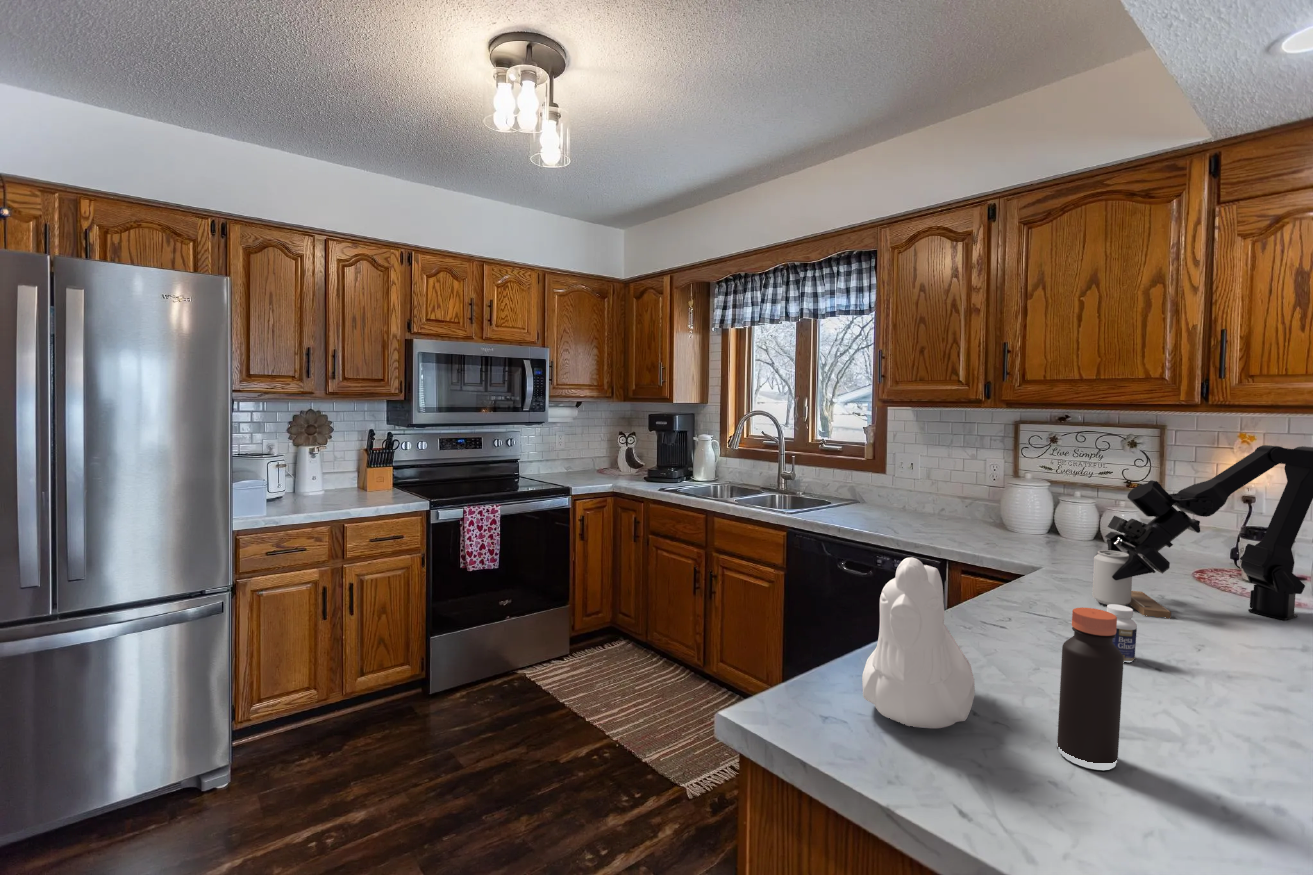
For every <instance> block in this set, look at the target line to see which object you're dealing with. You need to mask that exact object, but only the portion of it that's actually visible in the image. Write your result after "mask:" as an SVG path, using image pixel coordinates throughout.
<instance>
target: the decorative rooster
mask: <svg viewBox="0 0 1313 875" xmlns="http://www.w3.org/2000/svg"><path fill="white" fill-rule="evenodd" d="M943 588H944V587H943V581H942V577H941V574H940V571H939V569H938V568H936V567H933V566H931V565H927V564H923V562H922V561H921V560H919V559H918V558H916V557H913V556H912V557H906V558H904V559H903V560H902V561H900V563H899V564H898V566H897V568H896V571H895V577H894V578H892V579H890V580H889V581H888V582H887V583H885V585H884V586H883V588H882V590H881V594H880V597H879V630H878V639H877V644H876V647H875V649H874V650H873V651H872V653H871V654H870V655H869V656H868V658H867V660H866V662H865V665H864V669H863V672H862V676H861V677H862V681H861V682H862V697H863V698H864V699H865V701H868V702H869V703H871V704H873V705H874V708H876V711H877V712H878V713H879V714H880V715H882V716H883V717H885V718H886V719H889V718H890V720H892V721H894V722H898V723H899V722H900V723H899V724H902V725H904V724H905V725H904V726H908V727H910V726H913V727H914V728H923V729H941V728H943V729H944V728H947V727H951V726H953V725H954V724H956V723H958V722H964V721H966V720H967V718H968V717H969V714H970V712H971V709H972V707H973V703H974V699H975V694H976V689H975V688H976V687H975V677H974V674H973V669H972V665H971V663H970V661H969V660H968V659H967V657H966V655H965V653H964V652H963V651H962V649H961V647H960V645H959V644H958V643H957V641H956V640H955V637H953V635H952V633H951V632H950V630H949V629H948V627H947V625H946V624H945V619H946V618H945V606H944V589H943ZM913 727H912V728H913Z"/></svg>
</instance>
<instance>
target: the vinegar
mask: <svg viewBox="0 0 1313 875" xmlns="http://www.w3.org/2000/svg"><path fill="white" fill-rule="evenodd" d="M1071 614H1072V616H1071V626H1072V627H1071V629H1072V631H1073V636H1071V637H1070V638H1068V639H1067V640H1066V641H1064V642H1063V643H1062V646H1061V648H1062V649H1061V664H1060V665H1061V668H1060V681H1059V682H1060V684H1059V686H1060V687H1059V699H1058V700H1059V702H1058V704H1059V705H1058V719H1057V720H1058V722H1057V738H1056V739H1057V741H1056V742H1057V743H1058V747H1060V749H1062V751H1064V752H1065V753H1067V754H1069V755H1071V756H1074V757H1075V758H1078V759H1081V760H1085V761H1087V762H1093V763H1113V762H1115V761H1116V760H1117V758H1118V759H1119V747H1120V746H1119V744H1120V728H1121V713H1122V712H1121V710H1122V696H1123V695H1122V694H1123V693H1122V692H1123V678H1124V663H1123V662H1124V657H1123V655H1122V653H1121V652H1120V650H1119V649H1118V648H1117V647H1116V646H1115V645H1114V644H1113V638H1115V636H1116V635H1115V634H1116V628H1117V617H1116V616H1115V615H1114V614H1112V613H1109V612H1107V610H1102V609H1098V608H1092V607H1075V608H1072V613H1071ZM1057 743H1056V744H1057Z"/></svg>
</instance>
